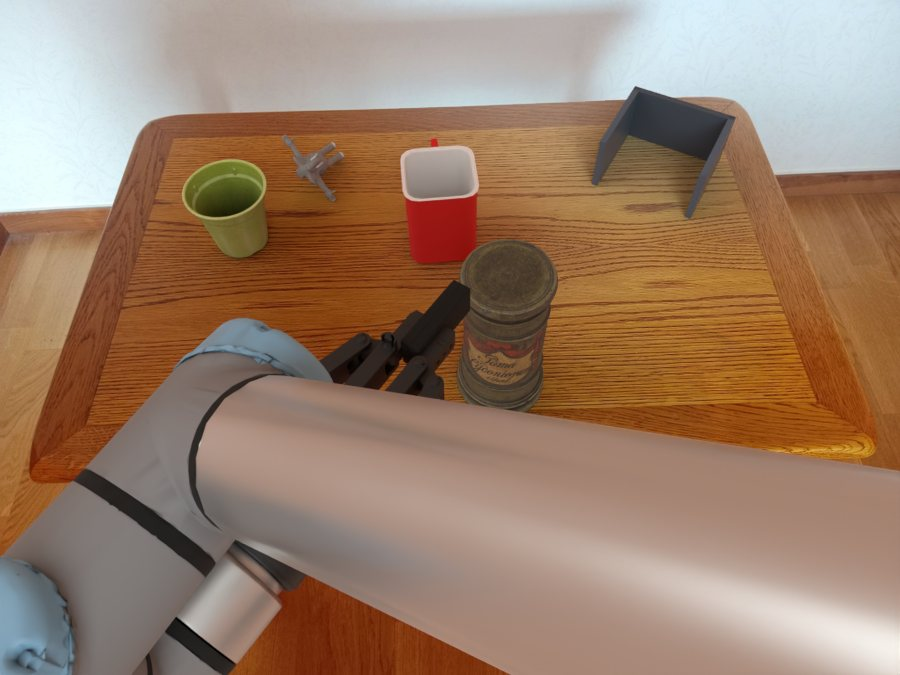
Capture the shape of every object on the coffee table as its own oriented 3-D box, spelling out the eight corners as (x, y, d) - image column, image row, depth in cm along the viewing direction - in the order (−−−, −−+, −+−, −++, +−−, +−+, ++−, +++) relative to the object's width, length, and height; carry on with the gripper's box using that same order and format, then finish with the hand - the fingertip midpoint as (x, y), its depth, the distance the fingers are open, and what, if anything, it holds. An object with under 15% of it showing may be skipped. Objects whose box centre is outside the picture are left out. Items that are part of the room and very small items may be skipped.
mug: (479, 261, 84) (481, 196, 75) (409, 267, 83) (403, 202, 75) (468, 189, 90) (469, 122, 82) (404, 194, 90) (397, 127, 81)
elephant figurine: (373, 171, 93) (339, 196, 86) (345, 194, 96) (310, 220, 89) (325, 107, 91) (285, 128, 84) (298, 132, 94) (258, 154, 87)
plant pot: (288, 212, 89) (272, 159, 82) (275, 270, 84) (257, 219, 76) (214, 211, 89) (192, 158, 82) (197, 269, 84) (172, 218, 77)
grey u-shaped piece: (690, 218, 87) (706, 176, 81) (591, 183, 91) (599, 140, 85) (719, 160, 93) (736, 116, 87) (624, 129, 96) (635, 85, 90)
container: (458, 345, 77) (456, 233, 62) (540, 347, 77) (559, 235, 62) (455, 419, 72) (452, 316, 57) (543, 421, 72) (564, 318, 57)
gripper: (183, 519, 47) (395, 287, 58) (334, 637, 43) (533, 363, 54) (141, 475, 41) (388, 224, 52) (312, 608, 37) (542, 304, 47)
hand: (461, 295), depth 53 cm, fingers closed
